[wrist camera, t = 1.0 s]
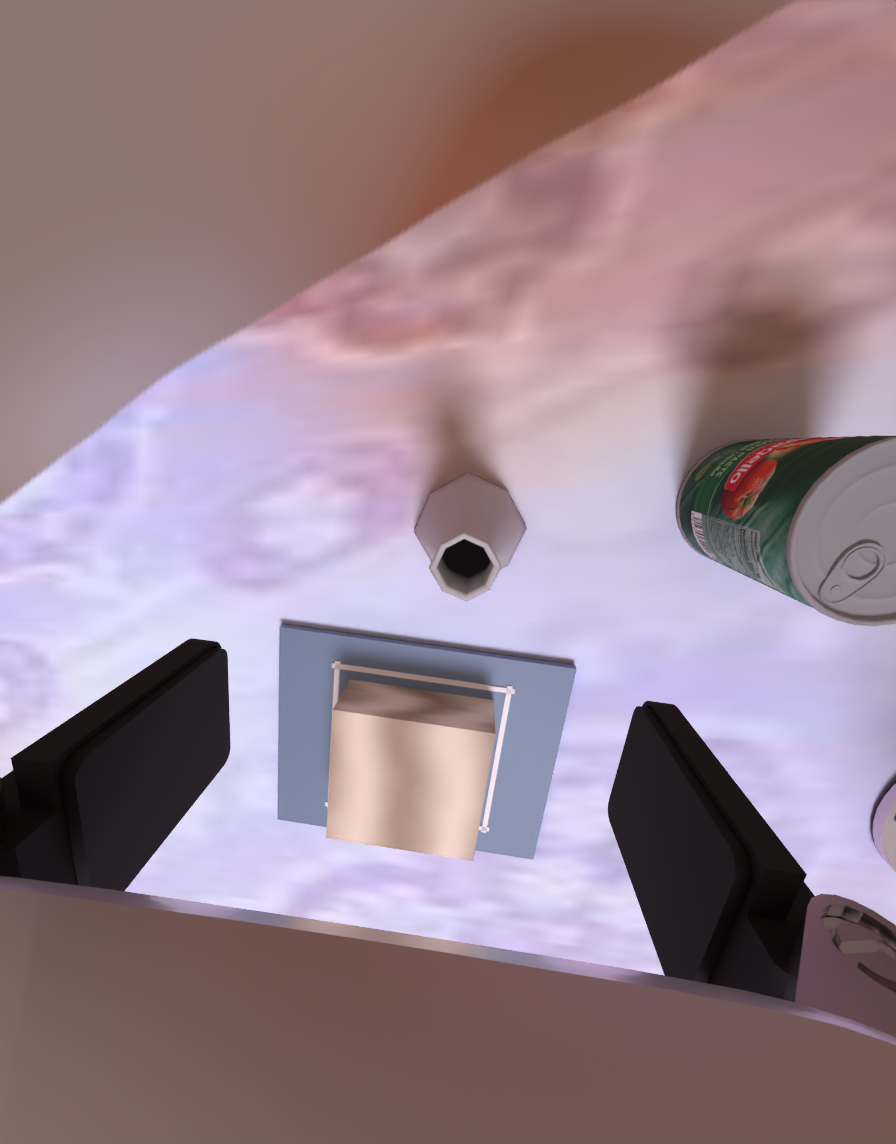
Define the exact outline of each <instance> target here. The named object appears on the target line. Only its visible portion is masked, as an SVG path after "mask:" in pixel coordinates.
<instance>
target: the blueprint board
mask: <svg viewBox="0 0 896 1144" xmlns="http://www.w3.org/2000/svg"><path fill="white" fill-rule="evenodd" d="M575 673H576V667H575V665H571V664H564V663H557V662H550V661H543V660H535V659H528V658H521V657H514V656H507V655H500V654H493V653H486V652H479V651H472V650H465V649H457V648H450V647H443V646H436V645H429V644H422V643H415V642H408V641H401V640H394V639H386V638H379V637H372V636H365V635H358V634H351V633H344V632H337V631H330V630H323V629H316V628H308V627H301V626H294V625H287V624H283V625H281V626H280V645H279V742H278V819H279V820H285V821H292V822H298V823H305V824H311V825H317V826H324V827H327V812H328V793H329V773H330V753H331V733H332V714H333V708H334V707H335V705H336V703H337V701H338V700H339V698H340V696H341V694H342V692H343V691H344V689H345V687H346V685H347V684H348V682H349V680H350V679H351V680H358V681H365V682H372V683H379V684H386V685H393V686H400V687H407V688H414V689H421V690H427V691H434V692H441V693H448V694H455V695H462V696H469V697H476V698H483V699H490V700H494V713H495V731H496V735H495V740H494V746H493V752H492V757H491V763H490V769H489V774H488V780H487V786H486V791H485V797H484V803H483V808H482V814H481V820H480V825H479V831H478V837H477V842H476V848H475V850H476V851H483V852H489V853H495V854H502V855H508V856H514V857H521V858H527V859H533V858H534V854H535V849H536V845H537V840H538V836H539V832H540V827H541V823H542V818H543V814H544V810H545V805H546V801H547V796H548V792H549V788H550V783H551V779H552V774H553V770H554V766H555V761H556V757H557V752H558V748H559V744H560V739H561V735H562V730H563V726H564V721H565V717H566V713H567V708H568V704H569V699H570V695H571V691H572V686H573V682H574V677H575Z"/></svg>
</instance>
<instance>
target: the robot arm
mask: <svg viewBox="0 0 896 1144" xmlns="http://www.w3.org/2000/svg"><path fill="white" fill-rule="evenodd" d="M229 753H230V722H229V690H228V658H227V652H226V650H224V649H221V646H220V644H219V643H218V642H214V641H207V640H200V639H189V640H187V641H185V642H184V643H182V644H181V645H179V646H178V647H176V648H175V649H173V650H172V651H170V652H169V653H168V654H166V655H165V656H163V657H162V658H160V659H159V660H157V661H156V662H154V663H153V664H151V665H150V666H148V667H147V668H145V669H144V670H142V671H141V672H139V673H138V674H136V675H135V676H133V677H132V678H130V679H129V680H127V681H126V682H124V683H123V684H121V685H120V686H118V687H117V688H115V689H114V690H112V691H111V692H109V693H108V694H106V695H105V696H103V697H102V698H100V699H99V700H97V701H96V702H94V703H93V704H91V705H90V706H88V707H87V708H85V709H84V710H82V711H81V712H79V713H78V714H76V715H75V716H73V717H72V718H70V719H69V720H67V721H66V722H64V723H63V724H61V725H60V726H58V727H57V728H55V729H54V730H52V731H51V732H49V733H48V734H46V735H45V736H43V737H42V738H40V739H39V740H37V741H36V742H34V743H33V744H31V745H30V746H28V747H27V748H25V749H24V750H22V751H21V752H19V753H18V754H16V755H15V756H13V757H12V758H11V761H12V766H13V771H12V772H10V773H9V774H7V775H6V776H4V777H3V778H2V779H1V777H0V1144H896V926H895V925H894V924H893V923H891V922H890V921H888V920H887V919H885V918H884V917H882V916H881V915H879V914H878V913H876V912H875V911H873V910H871V909H869V908H867V907H865V906H863V905H861V904H859V903H857V902H855V901H853V900H850V899H847V898H843V897H840V896H837V895H829V894H820V895H817V896H814V895H813V893H812V892H811V891H810V889H809V888H808V887H807V885H806V884H805V883H804V879H805V877H806V875H807V874H806V873H805V872H804V871H803V869H802V868H801V867H800V865H799V864H798V863H797V862H796V860H795V859H794V858H793V856H792V855H791V854H790V852H789V851H788V850H787V849H786V847H785V846H784V845H783V843H782V842H781V841H780V840H779V838H778V837H777V836H776V834H775V833H774V832H773V831H772V829H771V828H770V827H769V825H768V824H767V823H766V821H765V820H764V819H763V818H762V816H761V815H760V814H759V812H758V811H757V810H756V809H755V807H754V806H753V805H752V803H751V802H750V801H749V799H748V798H747V797H746V796H745V794H744V793H743V792H742V790H741V789H740V788H739V787H738V785H737V784H736V783H735V781H734V780H733V779H732V778H731V776H730V775H729V774H728V772H727V771H726V770H725V768H724V767H723V766H722V765H721V763H720V762H719V761H718V759H717V758H716V757H715V756H714V754H713V753H712V752H711V750H710V749H709V748H708V747H707V745H706V744H705V743H704V741H703V740H702V739H701V737H700V736H699V735H698V734H697V732H696V731H695V730H694V728H693V727H692V726H691V725H690V723H689V722H688V721H687V719H686V718H685V717H684V715H683V714H682V713H681V712H680V710H679V709H678V708H677V707H676V706H675V705H673V704H666V703H659V702H652V701H646V702H645V703H644V704H643V706H642V707H640V706H638V707H636V708H635V710H634V712H633V716H632V720H631V723H630V727H629V730H628V734H627V738H626V741H625V745H624V748H623V752H622V756H621V759H620V763H619V766H618V770H617V774H616V777H615V781H614V784H613V788H612V792H611V795H610V799H609V803H608V815H609V820H610V823H611V826H612V829H613V832H614V835H615V837H616V840H617V843H618V846H619V849H620V851H621V854H622V857H623V860H624V863H625V865H626V868H627V871H628V874H629V877H630V879H631V882H632V885H633V888H634V891H635V893H636V896H637V899H638V902H639V904H640V907H641V910H642V913H643V916H644V918H645V921H646V924H647V927H648V930H649V932H650V935H651V938H652V941H653V944H654V946H655V949H656V952H657V955H658V958H659V960H660V963H661V966H662V969H663V972H664V974H665V976H663V975H658V974H652V973H647V972H641V971H636V970H630V969H624V968H618V967H611V966H605V965H599V964H593V963H586V962H580V961H574V960H568V959H562V958H555V957H549V956H543V955H537V954H530V953H524V952H518V951H512V950H506V949H499V948H493V947H487V946H481V945H474V944H468V943H462V942H455V941H449V940H442V939H436V938H430V937H423V936H417V935H410V934H404V933H397V932H391V931H384V930H378V929H371V928H365V927H358V926H352V925H345V924H339V923H332V922H326V921H319V920H313V919H306V918H300V917H293V916H287V915H280V914H273V913H267V912H260V911H253V910H246V909H240V908H233V907H226V906H219V905H212V904H206V903H199V902H192V901H185V900H178V899H172V898H165V897H158V896H151V895H145V894H138V893H131V892H124V891H125V889H126V888H127V887H128V886H129V884H130V883H131V882H132V881H133V879H134V878H135V877H136V876H137V874H138V873H139V872H140V871H141V869H142V868H143V867H144V866H145V864H146V863H147V862H148V860H149V859H150V858H151V857H152V855H153V854H154V853H155V852H156V850H157V849H158V848H159V847H160V845H161V844H162V843H163V842H164V840H165V839H166V838H167V837H168V835H169V834H170V833H171V831H172V830H173V829H174V828H175V826H176V825H177V824H178V823H179V821H180V820H181V819H182V818H183V816H184V815H185V814H186V813H187V811H188V810H189V809H190V807H191V806H192V805H193V804H194V802H195V801H196V800H197V799H198V797H199V796H200V795H201V794H202V792H203V791H204V790H205V789H206V787H207V786H208V785H209V784H210V782H211V781H212V780H213V778H214V777H215V776H216V775H217V773H218V772H219V771H220V770H221V768H222V767H223V766H224V764H225V763H226V761H227V759H228V756H229ZM873 838H874V843H875V846H876V848H877V850H878V852H879V854H880V856H881V857H882V858H883V859H884V860H885V861H886V862H887V863H888V864H889V865H890V867H891V868H892V869H893V870H894V871H895V872H896V783H895V784H894V785H893V786H892V787H891V789H890V790H889V791H888V792H887V793H886V794H885V796H884V797H883V799H882V801H881V802H880V804H879V806H878V808H877V811H876V814H875V817H874V820H873Z"/></svg>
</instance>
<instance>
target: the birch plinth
mask: <svg viewBox="0 0 896 1144" xmlns="http://www.w3.org/2000/svg"><path fill="white" fill-rule="evenodd" d="M495 735H496V731H495V713H494V700H490V699H483V698H476V697H469V696H462V695H455V694H448V693H441V692H434V691H427V690H421V689H414V688H407V687H400V686H393V685H386V684H379V683H372V682H365V681H358V680H351V679H350V680H349V682H348V684H347V685H346V687H345V689H344V691H343V692H342V694H341V696H340V698H339V700H338V701H337V703H336V705H335V707H334V708H333V714H332V733H331V753H330V773H329V793H328V812H327V832H326V838H332V839H338V840H344V841H350V842H357V843H363V844H369V845H376V846H382V847H388V848H395V849H401V850H407V851H414V852H420V853H426V854H433V855H439V856H445V857H452V858H458V859H464V860H471V861H473V859H474V854H475V848H476V842H477V837H478V831H479V825H480V820H481V814H482V808H483V803H484V797H485V791H486V786H487V780H488V774H489V769H490V763H491V757H492V752H493V746H494V740H495Z"/></svg>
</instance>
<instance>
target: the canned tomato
mask: <svg viewBox="0 0 896 1144" xmlns="http://www.w3.org/2000/svg"><path fill="white" fill-rule="evenodd" d="M676 517H677V522H678V526H679V529H680V531H681V533H682V536H683V538H684V539H685V540H686V542H687V543H688V544H689V545H690V547H692V548H693V549H694V550H695V551H697V552H698V553H699V554H701V555H703V556H705V557H707V558H709V559H712V560H714V561H716V562H718V563H720V564H722V565H725V566H727V567H729V568H731V569H733V570H735V571H737V572H739V573H741V574H743V575H745V576H747V577H749V578H751V579H754V580H756V581H758V582H760V583H762V584H764V585H766V586H768V587H770V588H772V589H774V590H776V591H779V592H781V593H783V594H785V595H787V596H789V597H791V598H793V599H795V600H797V601H799V602H801V603H803V604H805V605H808V606H810V607H813V608H815V609H816V610H818V611H819V612H820V613H822V614H825V615H827V616H829V617H831V618H833V619H835V620H838V621H842V622H846V623H850V624H854V625H866V626H878V625H888V624H895V623H896V436H869V437H867V436H856V437H827V438H821V437H817V438H793V439H787V438H785V439H763V440H760V439H745V440H739V441H734V442H731V443H728V444H725V445H722V446H720V447H718V448H716V449H715V450H713V451H711V452H709V453H708V454H707V455H706V456H704V457H703V458H702V459H701V460H699V461H698V462H697V464H696V465H695V466H694V467H693V468H692V469H691V470H690V472H689V473H688V475H687V477H686V478H685V480H684V481H683V484H682V486H681V489H680V491H679V494H678V499H677V504H676Z"/></svg>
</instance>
